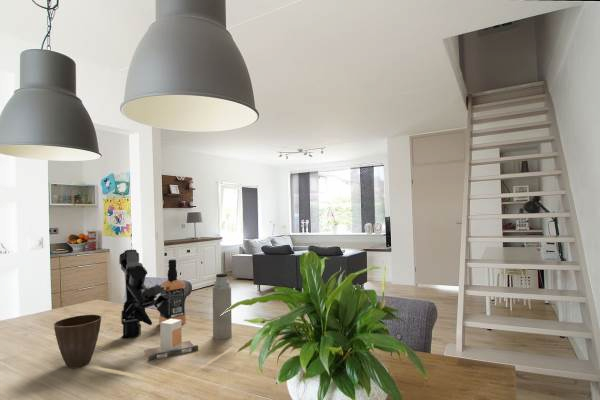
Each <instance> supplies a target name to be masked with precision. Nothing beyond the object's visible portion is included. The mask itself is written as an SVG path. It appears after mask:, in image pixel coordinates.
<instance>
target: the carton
mask: <svg viewBox="0 0 600 400" xmlns="http://www.w3.org/2000/svg"><path fill="white" fill-rule="evenodd" d="M182 325H183V324H181V320H178V319H169V320H166V321H163V322H161V325H160V347H161V352H166V351H171V350H175V349H180V348H182V342H183V339H182V332H183V331H182Z"/></svg>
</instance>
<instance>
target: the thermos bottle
mask: <svg viewBox="0 0 600 400" xmlns="http://www.w3.org/2000/svg"><path fill="white" fill-rule="evenodd" d="M215 277H216V278H215V281H213V282H214V284H213V287H212V337H213V339H214V340H226V339H232V338H233V337H232V336H233V333H232V332H233V331H232V326H233V325H232V324H233V323H232V309H231V310H230V311H228V312H226V313H224V314H223V315H221V314H222V313H223V312H224V311H225V310H226V309H227V308H229V307H230V306H231V307H232V286H231V285H230V283H231V282H230V281H229V280H228V273H217V274H216V275H215ZM220 315H221V316H220Z"/></svg>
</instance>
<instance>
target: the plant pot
mask: <svg viewBox="0 0 600 400" xmlns="http://www.w3.org/2000/svg"><path fill="white" fill-rule="evenodd" d="M101 322H102V315H99V314H85V315H76V316H71V317H65V318H63V319H61V320H57V321H56V322H54V324H53V328H54V333H55V338H56V342H57V346H58V349H59V351H60V354H61V356H62V359H63V362H64V364H65V366H66V367H67V368H68V369H77V368H81V367H84V366H86V365H88V364H90V363H91V360H92V358H93V355H94V352H95V349H96V346H97V342H98V339H99V334H100V329H101Z"/></svg>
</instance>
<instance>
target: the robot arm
mask: <svg viewBox="0 0 600 400" xmlns="http://www.w3.org/2000/svg"><path fill="white" fill-rule="evenodd" d="M118 259H119V260H118V264H119V265H120V269H121V271H122V272H123V273H124V279H125V281H124V282H125V302H124V304H123V306H122V310H121V312H120V313H121V314H120V324H121V325H122V336H121V338H122V339H127V338H137V337H138V336H139V335H141V333H142V324H141V322H143V323H145V324H146V325H149V326H152V325H153V322H152V319H151V318H150V316H149V315H148V313H147V312H146V308H150V307H152V306H154V307H155V308H156V310H157V311H158V312H159V314H160V313H161V314H162V315H163V316H165V317H166V318H167V319H168V318H169V312H168V308H167V302H168V301H169V299H170V296H169V295H168V294H163V295H161V293H162V291H163V290H164V287H163V285H162V283H161V282H160V283H157V284H155V285H154V286H151V287H146V285H145V279H146V276H147V275H148V271H147V269H146V268H145V267H144V265H143V263H141V262H140V254H139V252H138V251H137V249H134V248H133V249H126V250H124V251H123V252H122V253H120V254H119V258H118ZM159 294H160V295H159ZM157 295H159V296H157Z"/></svg>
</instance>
